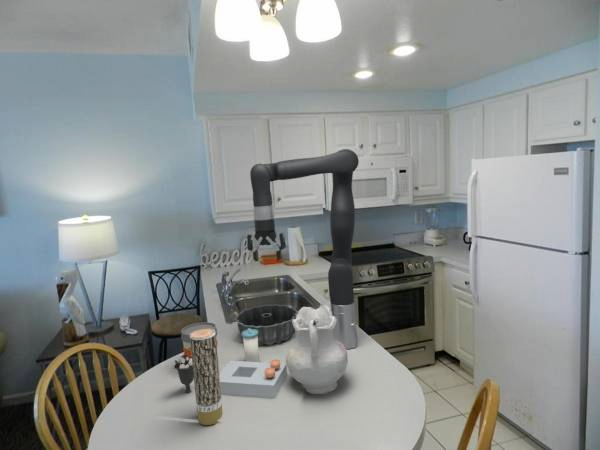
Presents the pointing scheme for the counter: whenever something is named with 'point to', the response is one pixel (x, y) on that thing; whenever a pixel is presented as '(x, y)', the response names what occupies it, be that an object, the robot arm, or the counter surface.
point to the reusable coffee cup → (191, 328)
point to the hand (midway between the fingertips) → (267, 260)
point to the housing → (251, 379)
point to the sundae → (185, 370)
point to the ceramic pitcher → (316, 351)
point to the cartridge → (251, 345)
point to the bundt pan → (268, 322)
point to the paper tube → (206, 376)
